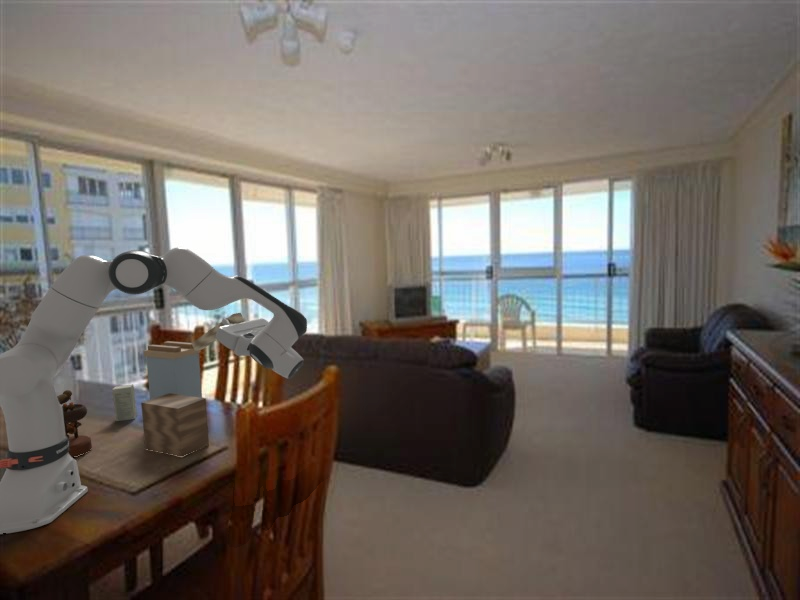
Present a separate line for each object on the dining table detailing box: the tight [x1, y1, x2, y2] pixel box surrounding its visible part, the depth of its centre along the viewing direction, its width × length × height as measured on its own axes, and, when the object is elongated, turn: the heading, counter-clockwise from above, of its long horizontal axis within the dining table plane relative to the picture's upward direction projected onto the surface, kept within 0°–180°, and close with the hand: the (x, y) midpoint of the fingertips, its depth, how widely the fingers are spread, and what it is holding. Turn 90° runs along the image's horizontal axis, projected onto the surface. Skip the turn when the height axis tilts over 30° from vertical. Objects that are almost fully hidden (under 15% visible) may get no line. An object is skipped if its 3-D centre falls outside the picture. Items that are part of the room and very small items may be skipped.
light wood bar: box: [191, 312, 245, 351], centre depth 152 cm, size 22×4×3 cm, turn 64°
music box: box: [57, 389, 93, 457], centre depth 142 cm, size 15×11×20 cm
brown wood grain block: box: [141, 393, 210, 456], centre depth 143 cm, size 16×10×15 cm, turn 65°
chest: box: [143, 340, 203, 400], centre depth 164 cm, size 15×11×28 cm
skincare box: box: [111, 383, 138, 422], centre depth 171 cm, size 6×4×12 cm
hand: (229, 318), depth 149 cm, fingers closed on light wood bar, 3 cm apart
